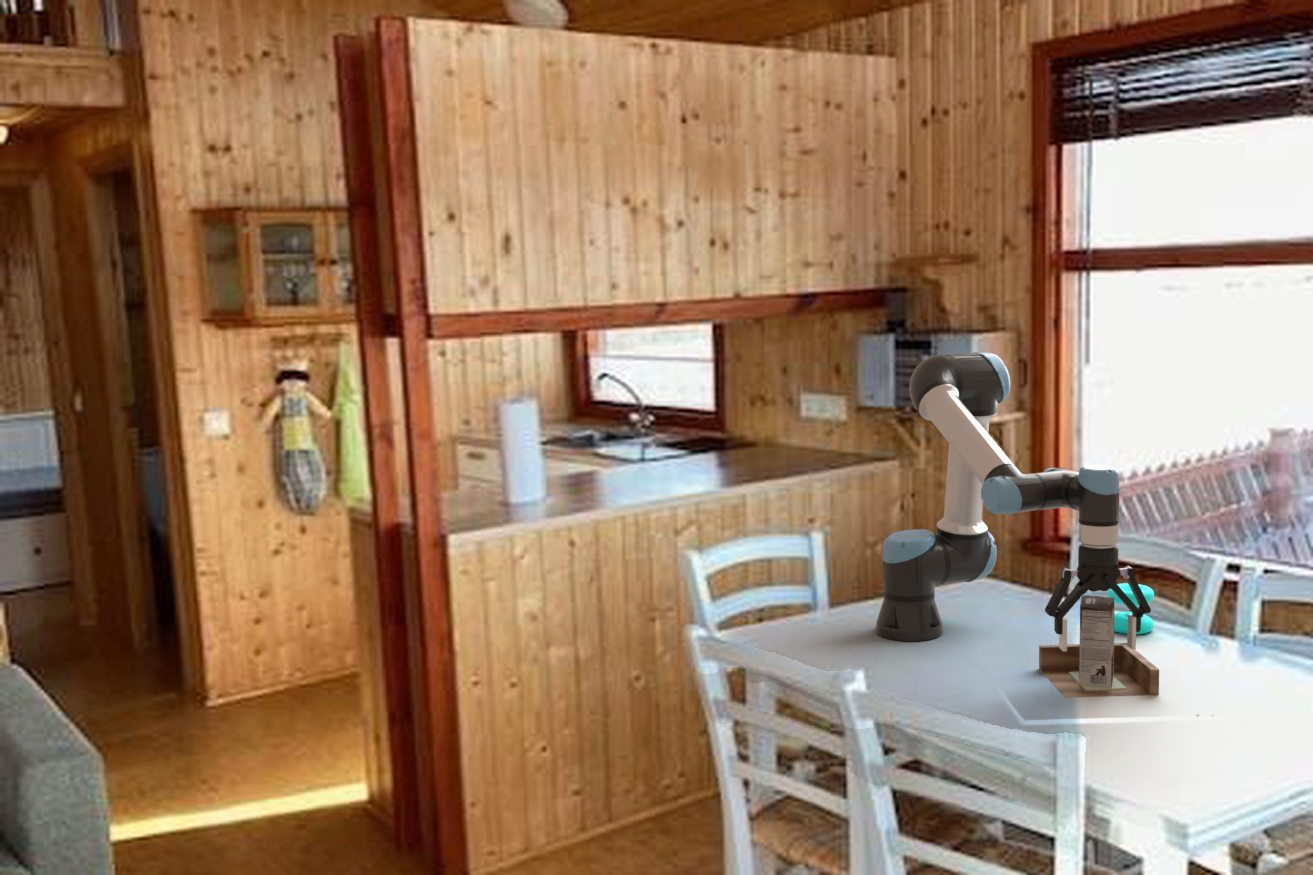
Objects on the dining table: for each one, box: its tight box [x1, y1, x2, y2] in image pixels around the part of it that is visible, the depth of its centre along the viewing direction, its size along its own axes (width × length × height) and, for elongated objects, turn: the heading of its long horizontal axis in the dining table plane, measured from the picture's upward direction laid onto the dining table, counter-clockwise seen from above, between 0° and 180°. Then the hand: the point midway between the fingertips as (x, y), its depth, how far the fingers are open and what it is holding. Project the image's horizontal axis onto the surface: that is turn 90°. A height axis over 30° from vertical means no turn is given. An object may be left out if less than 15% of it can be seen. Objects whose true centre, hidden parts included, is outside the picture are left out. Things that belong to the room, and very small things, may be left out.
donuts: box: [1107, 582, 1155, 635], centre depth 297 cm, size 10×10×10 cm
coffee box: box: [1079, 594, 1115, 687], centre depth 259 cm, size 9×6×16 cm
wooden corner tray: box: [1038, 642, 1160, 698], centre depth 259 cm, size 18×18×6 cm
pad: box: [1068, 672, 1127, 691], centre depth 260 cm, size 11×8×1 cm
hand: (1097, 648), depth 259 cm, fingers open, 13 cm apart
